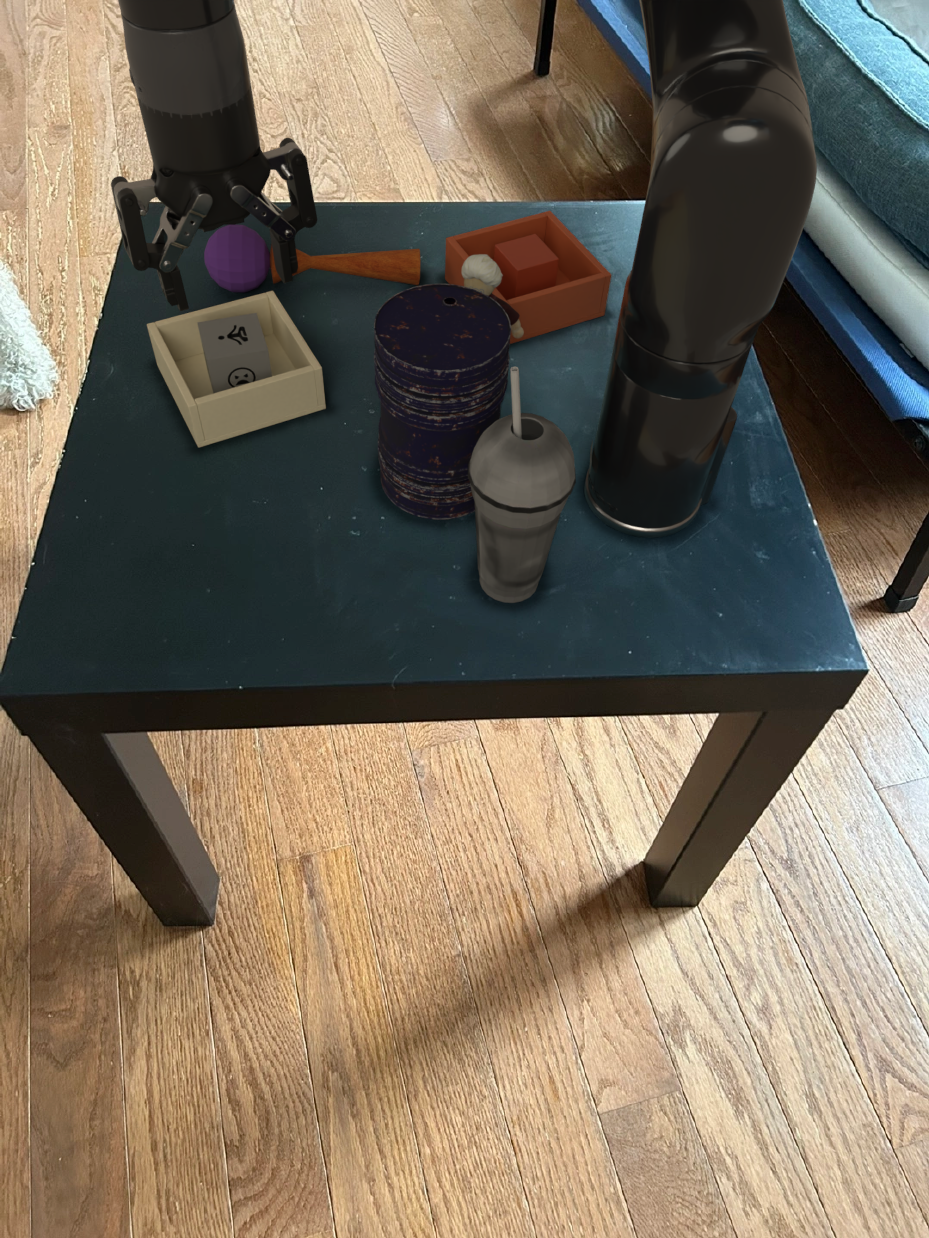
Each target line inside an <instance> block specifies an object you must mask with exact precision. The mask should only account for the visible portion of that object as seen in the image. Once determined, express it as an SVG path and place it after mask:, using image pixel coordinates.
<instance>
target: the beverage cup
mask: <svg viewBox="0 0 929 1238" xmlns="http://www.w3.org/2000/svg"><path fill="white" fill-rule="evenodd" d="M509 369H510V389H511V411H512V413H511V414H508V415H505V416H503V417H500V419H499V420H497V421H495V422H494V423H493V424H492V425H491V426H489V427H488V428H487V429H486V430H485V431H484V432H483V433H482V435H481V436H480V438H479V440H478V442H477V444H476V446H475V447H474V450H473V453H472V457H471V459H470V461H469V464H468V478H469V481H470V486H471V490H472V495H473V498H474V501H475V511H474V519H475V537H476V539H475V540H476V555H477V556H476V557H477V570H478V575H479V584H480V586H481V589H482V590H483V591H484V593H485V594H486V595H487V596H489V597H490V598H491V599H493V600H495V601H498V602H500V603H501V602H502V603H507V604H508V603H509V604H515V603H519V602H523V601H525V600H527V599H529V598H531V597H532V595H533V594H535V592H536V591H537V588H538V586H539V582H540V580H541V578H542V575H543V573H544V571H545V566H546V564H547V560H548V557H549V554H550V550H551V548H552V543H553V540H554V537H555V535H556V530H557V527H558V524H559V521H560V517H561V514H562V511H563V510H564V508H565V505H566V504H567V502H568V499H569V497H570V496H571V494H572V493H573V490H574V488H575V486H576V483H577V481H576V479H577V476H576V472H577V471H576V465H575V455H574V454H575V453H574V451H573V448H572V446H571V443H570V441H569V439H568V437H567V435H566V434H565V432H563V431H562V429H561V428H560V427H558V425H557V424H555V423H554V422H553V421H551V420H550V419H548V418H546V417H544V416H542V415H540V414H539V415H538V414H535V413H529V412H522V411H521V391H520V389H521V388H520V370H519V367H518V366H511V367H510V368H509Z"/></svg>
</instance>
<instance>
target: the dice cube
mask: <svg viewBox="0 0 929 1238" xmlns="http://www.w3.org/2000/svg"><path fill="white" fill-rule="evenodd" d="M197 324H198V329H199V333H200V338H201V343H202V347H203V352H204V357H205V361H206V366H207V370H208V374H209V378H210V382H211V386H212V390H213V394H214V393H217V392H221V391H224V390H227V389H231V388H234V387H238V386H241V385H245V384H248V383H251V382H255V381H258V380H262V379H265V378H269V377H272V372H271V366H270V359H269V352H268V348H267V345H266V341H265V338H264V335H263V332H262V329H261V326H260V323H259V319H258V316H257V313H252V314H246V315H240V316H234V317H228V318H222V319H215V320H209V321H203V322H197Z"/></svg>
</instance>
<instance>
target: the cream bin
mask: <svg viewBox="0 0 929 1238" xmlns="http://www.w3.org/2000/svg"><path fill="white" fill-rule="evenodd" d="M252 313H257V316H258V319H259V323H260V326H261V329H262V332H263V335H264V338H265V341H266V345H267V348H268V352H269V359H270V366H271V372H272V377H269V378H265V379H262V380H258V381H255V382H251V383H248V384H245V385H241V386H238V387H234V388H231V389H227V390H224V391H221V392H217V393H214V394H213V390H212V386H211V382H210V378H209V374H208V370H207V366H206V361H205V357H204V352H203V347H202V343H201V338H200V333H199V329H198V324H197V322H203V321H209V320H215V319H222V318H228V317H234V316H240V315H246V314H252ZM146 327H147V332H148V335H149V339H150V342H151V346H152V350H153V355H154V357H155V358H154V359H155V362H156V365H157V368H158V370H159V372H160V374H161V376H162V377H163V380H164V382H165V384H166V385H167V388H168V390H169V392H170V394H171V396H172V398H173V400H174V402H175V404H176V406H177V408H178V410H179V412H180V414H181V416H182V418H183V420H184V422H185V424H186V426H187V428H188V430H189V432H190V435H191V436H192V438H193V440H194V442H195V444H196V446H197V448H203V447H206V446H209V445H212V444H215V443H219V442H222V441H225V440H228V439H232V438H235V437H238V436H241V435H244V434H248V433H251V432H254V431H258V430H261V429H264V428H267V427H271V426H274V425H277V424H280V423H283V422H286V421H287V422H288V421H290V420H293V419H296V418H300V417H303V416H307V415H309V414H313V413H316V412H319V411H323V410H326V409H327V404H326V395H325V385H324V375H323V374H324V373H323V367H322V366H321V364H320V362H319V360H318V359H317V357H316V356H315V355H314V352H313V351H312V350H311V348H310V346H309V345H308V343H307V342H306V340H305V339H304V337H303V335H302V333H301V332H300V331H299V329H298V328H297V326H296V325H295V323H294V321H293V320H292V318H291V316H290V315H289V313H288V312H287V310H286V309H285V307H284V306H283V304H282V303H281V301H280V299H279V298H278V296H277V294H276V293H275V291H274V290H269V291H266V292H263V293H259V294H254V295H251V296H247V297H244V298H239V299H235V300H232V301H228V302H224V303H220V304H217V305H213V306H210V307H205V308H202V309H198V310H195V311H190V312H188V313H187V312H186V313H183V314H179V315H175V316H172V317H167V318H164V319H160V320H156V321H153V322H149V323H146Z"/></svg>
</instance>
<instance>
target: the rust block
mask: <svg viewBox="0 0 929 1238" xmlns="http://www.w3.org/2000/svg"><path fill="white" fill-rule="evenodd" d="M494 261H495V262H496V263H497V265H498V267H499V268H500V270H501V273H502V275H503V276H502V280H501V283H500V284H499V285H498V286H497V287H496V289H497V290H498V291H499V292H500V294H501V295H502V296H503V297H504V298H505V300H506V301H507V300H509V299H513V298H516V297H520V296H523V295H526V294H530V293H533V292H537V291H540V290H544V289H547V288H551V287H554V286H555V284H556V276H557V269H558V261H559V259H558V257H557V256H556V255H555V254H554V253H553V252H552V251H551V250H550V249H549V248H548V247H547V246H546V245H545V244H544V242H543V241H542V240H541V239H540V238H539V237H538V236H537V235H536V234H533V235H529V236H526V237H522V238H518V239H515V240H511V241H507V242H504V243H500V244H496V245H495V253H494Z"/></svg>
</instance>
